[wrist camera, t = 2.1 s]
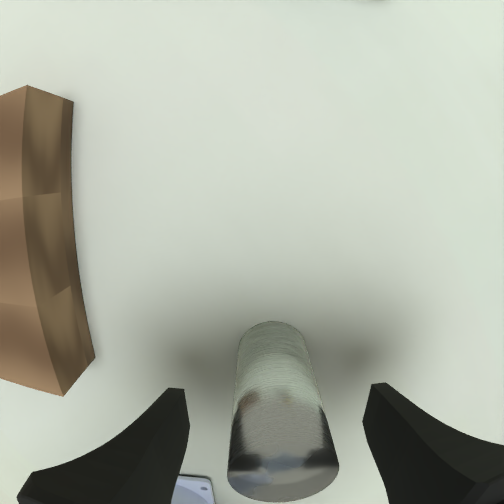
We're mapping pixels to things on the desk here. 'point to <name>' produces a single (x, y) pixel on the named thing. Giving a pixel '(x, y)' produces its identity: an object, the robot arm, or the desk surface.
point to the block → (39, 246)
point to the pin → (278, 420)
